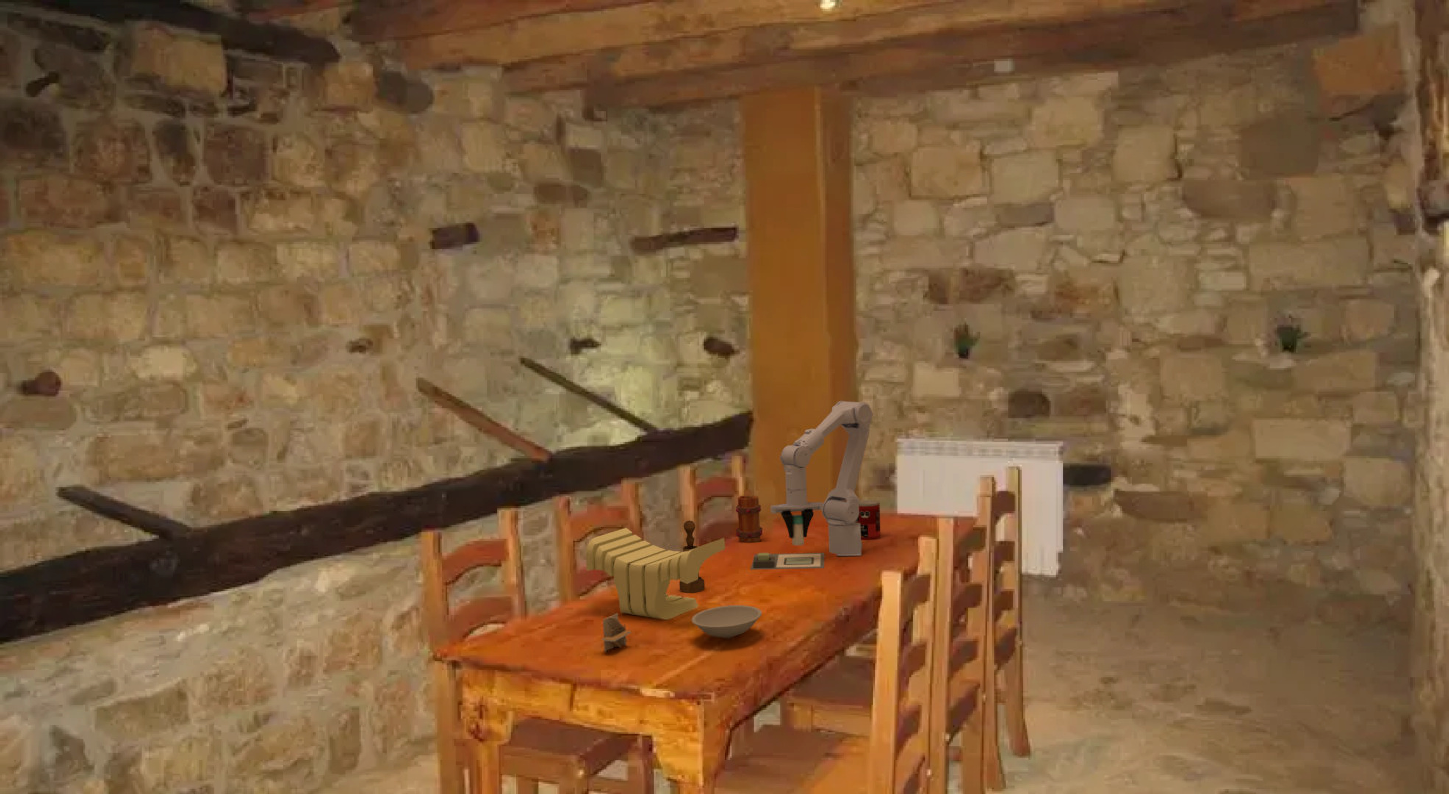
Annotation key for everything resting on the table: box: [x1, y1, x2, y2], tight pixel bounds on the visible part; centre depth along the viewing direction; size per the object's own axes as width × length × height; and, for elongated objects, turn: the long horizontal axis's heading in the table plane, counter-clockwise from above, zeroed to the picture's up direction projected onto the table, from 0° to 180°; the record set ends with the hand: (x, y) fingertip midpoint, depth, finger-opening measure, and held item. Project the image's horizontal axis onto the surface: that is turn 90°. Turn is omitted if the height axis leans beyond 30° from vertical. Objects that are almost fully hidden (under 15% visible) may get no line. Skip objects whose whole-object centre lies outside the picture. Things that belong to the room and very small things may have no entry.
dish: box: [691, 604, 763, 639], centre depth 254 cm, size 18×14×5 cm
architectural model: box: [601, 612, 632, 652], centre depth 249 cm, size 3×7×7 cm, turn 152°
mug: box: [735, 489, 763, 544], centre depth 352 cm, size 15×8×15 cm, turn 179°
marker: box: [791, 514, 805, 546], centre depth 318 cm, size 3×3×8 cm
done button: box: [757, 552, 770, 561], centre depth 316 cm, size 3×3×2 cm
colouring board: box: [750, 552, 825, 571], centre depth 320 cm, size 20×18×3 cm
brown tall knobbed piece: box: [679, 520, 705, 594], centre depth 296 cm, size 7×6×18 cm
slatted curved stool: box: [585, 527, 726, 620], centre depth 277 cm, size 30×16×18 cm, turn 56°
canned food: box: [855, 499, 881, 541], centre depth 350 cm, size 8×8×11 cm
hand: (797, 537), depth 319 cm, fingers closed on marker, 3 cm apart
